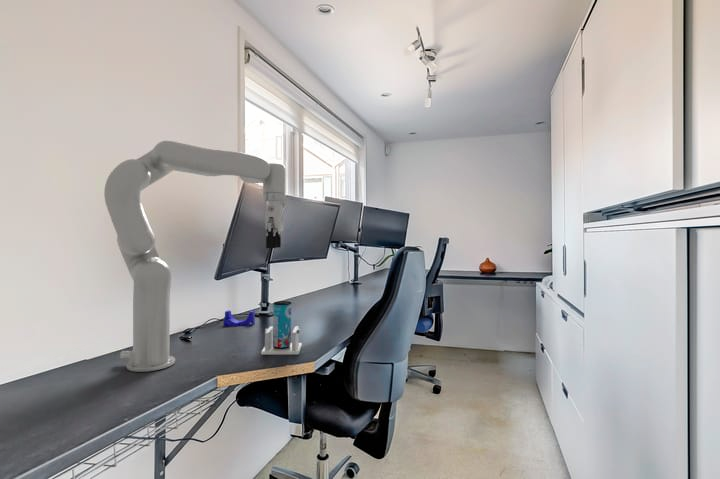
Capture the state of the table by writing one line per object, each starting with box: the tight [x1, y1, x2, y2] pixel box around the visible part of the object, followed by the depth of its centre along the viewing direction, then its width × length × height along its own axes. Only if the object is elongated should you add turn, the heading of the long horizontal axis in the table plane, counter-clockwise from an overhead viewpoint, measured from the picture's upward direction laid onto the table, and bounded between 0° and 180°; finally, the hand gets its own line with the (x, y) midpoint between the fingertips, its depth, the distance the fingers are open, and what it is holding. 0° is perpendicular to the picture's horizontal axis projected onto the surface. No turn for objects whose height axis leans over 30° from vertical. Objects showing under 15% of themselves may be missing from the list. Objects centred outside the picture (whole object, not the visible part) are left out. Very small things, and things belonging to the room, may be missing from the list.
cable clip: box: [223, 310, 256, 327], centre depth 169 cm, size 12×4×6 cm, turn 90°
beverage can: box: [272, 300, 292, 349], centre depth 132 cm, size 6×6×15 cm
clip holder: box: [260, 325, 303, 356], centre depth 132 cm, size 12×10×7 cm
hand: (273, 247), depth 137 cm, fingers open, 9 cm apart
